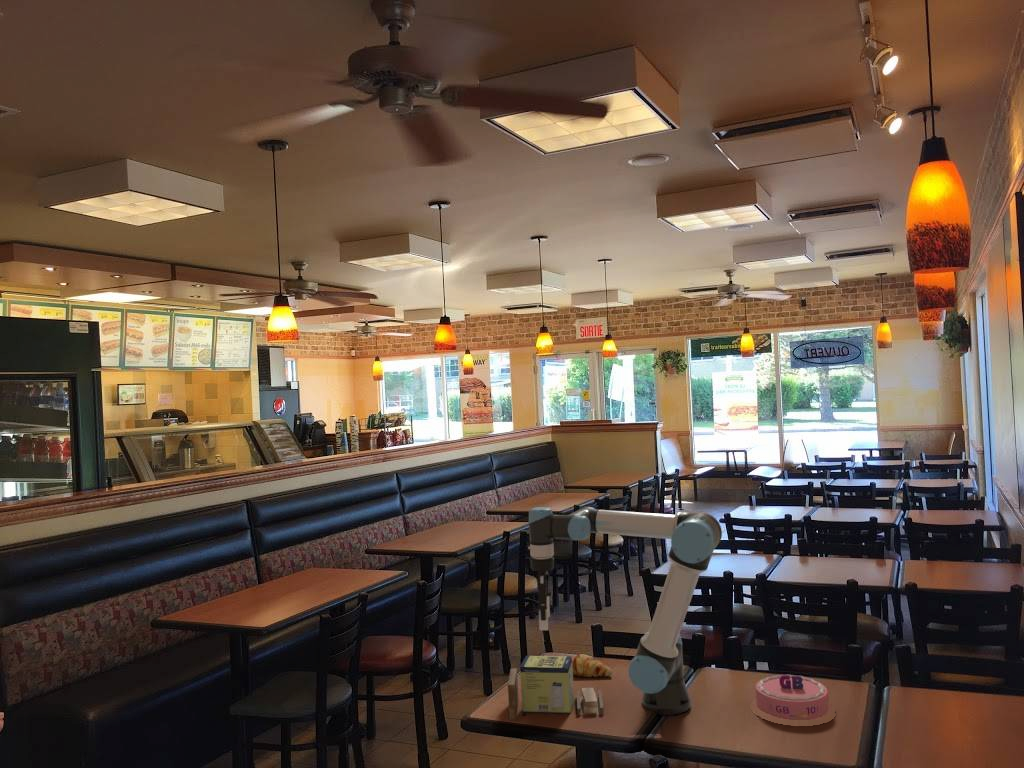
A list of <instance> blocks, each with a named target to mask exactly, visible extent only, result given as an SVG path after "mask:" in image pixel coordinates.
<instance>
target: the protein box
mask: <svg viewBox="0 0 1024 768" xmlns="http://www.w3.org/2000/svg"><path fill="white" fill-rule="evenodd" d="M572 657H573V656H567V655H566V656H565V655H563V656H562V655H558V656H557V655H555V656H554V655H552V656H551V655H525V657H524V659H523V661H522V663H521V664H520V666H519V670H520V671H519V672H520V687H521V689H520V690H521V706H522V716H524V717H526V716H527V714H546V715H548V714H550V715H551V714H552V715H553V714H555V715H571V714H572V711H573V708H574V705H575V703H576V701H575V690H574V688H575V687H574V675H573V669H572Z"/></svg>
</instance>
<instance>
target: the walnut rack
mask: <svg viewBox="0 0 1024 768" xmlns="http://www.w3.org/2000/svg"><path fill="white" fill-rule="evenodd" d="M580 692H581V691H580V690H576V709H577V712H576V713H577V716H598V715H601V716H603V715H604V714H605V713H604V701H603V694H602V693H603V692H602V690H601V689H599V690H598V691H597V692H598V693H597V694H598V695H597V696H596V699H597V705H598V707H597V713H588V714H584V705H583V696H580V695H581V694H580ZM507 693H508V713H509V721H516V720H517V719H518V711H517V710H519V704H518V703H519V702H520V698H519V684H518V668H513V667H512V668H511V667H510V670H509V676H508V681H507Z"/></svg>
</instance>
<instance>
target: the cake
mask: <svg viewBox="0 0 1024 768" xmlns="http://www.w3.org/2000/svg"><path fill="white" fill-rule="evenodd" d="M754 687H755V689H754V690H755V698H756V706H757V707H758V708H759V709H760V710H761V711H763V712H765V713H767V714H770V715H772V716H775V717H778V718H783V719H789V720H810V719H815V718H818V717H822V716H823V715H825V714H826V713H827V712H828V711H829V703H830V700H829V699H830V698H829V691H828V688H827V687H826V685H824V684H823V683H821V682H819V681H817V680H814V679H813V678H811V677H807V676H806V677H805V676H803V675H794V674H788V673H787V674H776V675H771V676H770V675H769V676H767V677H764V678H761V679H760V680H758V682H757V683H756V684H755V686H754Z"/></svg>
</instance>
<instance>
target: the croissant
mask: <svg viewBox="0 0 1024 768" xmlns="http://www.w3.org/2000/svg"><path fill="white" fill-rule="evenodd" d="M571 657H572V669H573V676H574V675H577V676H576V677H580V676H583V677H582V678H593V677H594V678H599V677H598V676H600V677H604V678H606V677H611V675H612V674H613V670H611V668H610V667H609V666H608V665H606V664H604V663H603V662H602V661H601V660H600V659H596V658H595V659H593V657H592V656H590V655H588V654H584V653H578V654H576V656H571ZM592 676H593V677H592Z"/></svg>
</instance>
